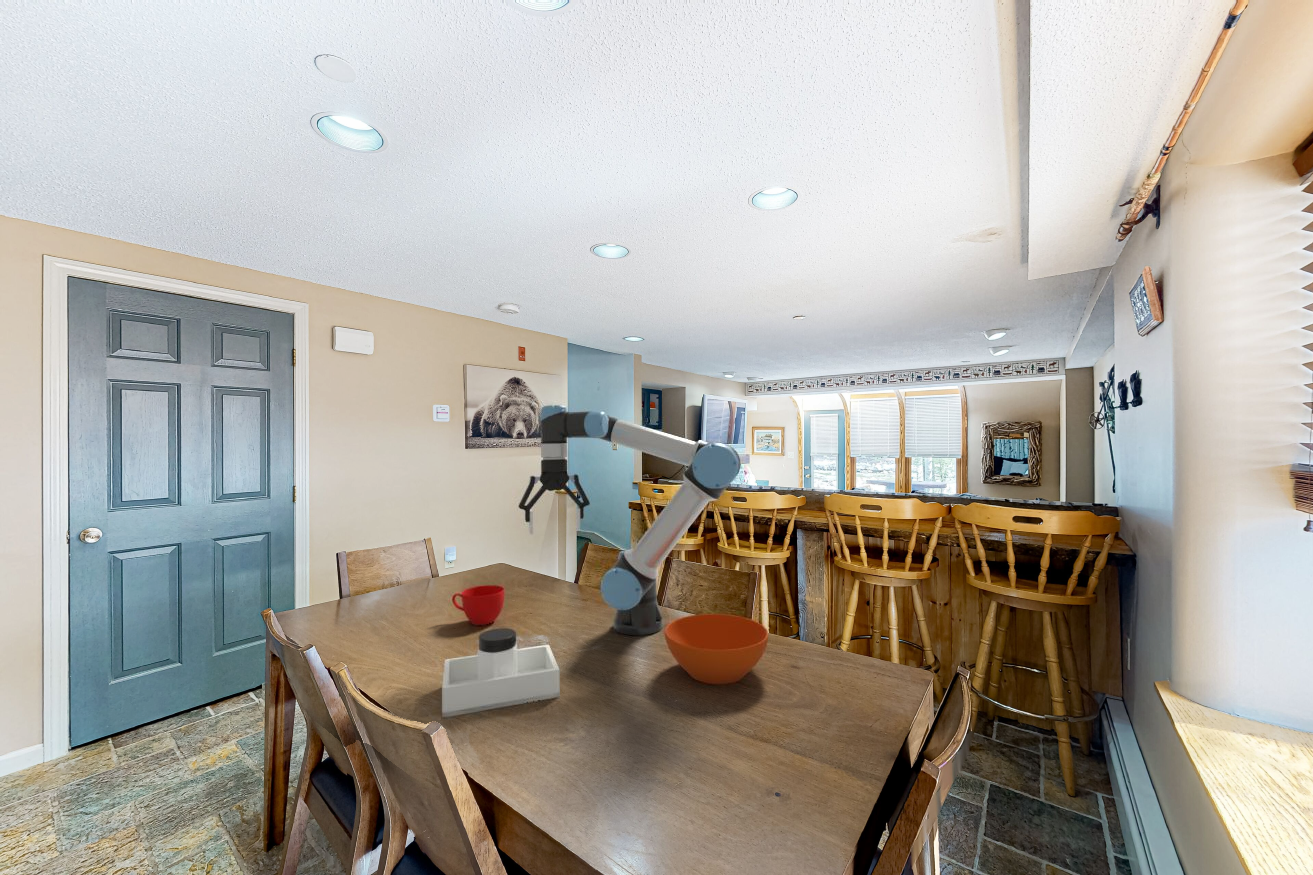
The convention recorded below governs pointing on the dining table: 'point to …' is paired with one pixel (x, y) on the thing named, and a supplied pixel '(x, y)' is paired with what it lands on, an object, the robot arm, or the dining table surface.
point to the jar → (497, 653)
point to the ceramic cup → (481, 603)
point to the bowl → (716, 646)
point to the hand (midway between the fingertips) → (554, 531)
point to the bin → (499, 683)
